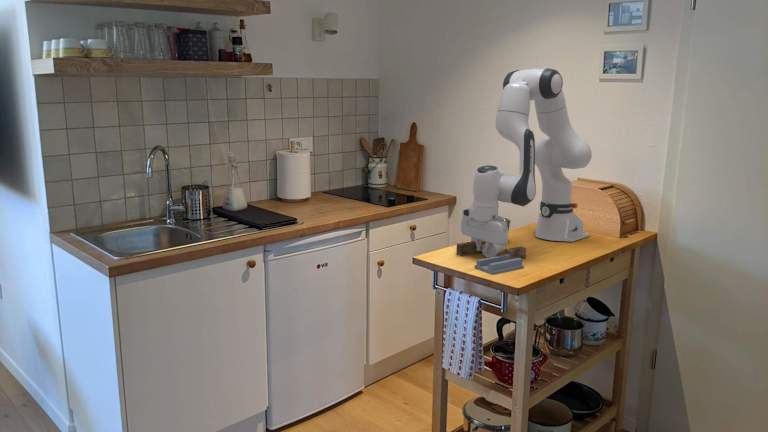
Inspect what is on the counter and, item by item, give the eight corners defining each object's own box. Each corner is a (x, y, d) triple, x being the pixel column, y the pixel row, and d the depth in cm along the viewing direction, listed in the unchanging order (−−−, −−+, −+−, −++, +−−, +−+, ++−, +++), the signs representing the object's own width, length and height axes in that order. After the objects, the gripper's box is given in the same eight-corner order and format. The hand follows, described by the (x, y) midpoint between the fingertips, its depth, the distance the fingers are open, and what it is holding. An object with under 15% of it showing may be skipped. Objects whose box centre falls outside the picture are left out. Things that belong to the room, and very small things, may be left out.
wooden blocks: (491, 248, 228) (491, 238, 227) (525, 259, 214) (526, 247, 213) (456, 254, 218) (456, 243, 217) (490, 266, 204) (490, 254, 204)
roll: (508, 251, 224) (509, 236, 223) (496, 259, 214) (497, 243, 213) (493, 249, 227) (494, 234, 226) (480, 256, 217) (481, 240, 216)
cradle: (505, 262, 210) (505, 253, 209) (523, 268, 203) (524, 259, 202) (474, 268, 202) (475, 259, 201) (492, 274, 195) (493, 265, 194)
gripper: (513, 217, 204) (511, 257, 207) (471, 207, 221) (470, 244, 224) (500, 219, 201) (497, 260, 204) (458, 209, 217) (457, 247, 220)
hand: (483, 252), depth 214 cm, fingers closed
